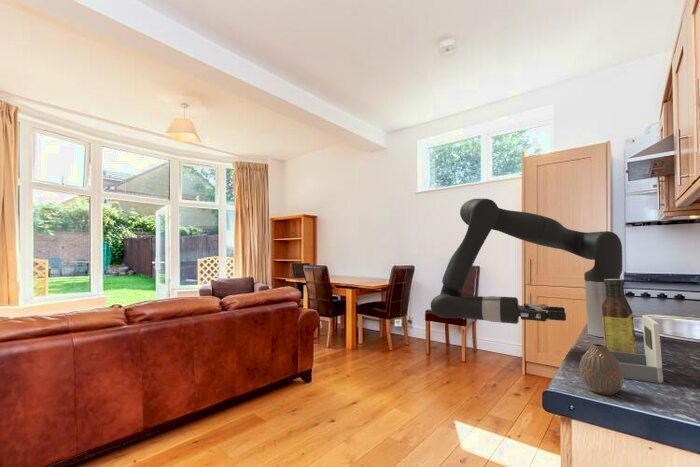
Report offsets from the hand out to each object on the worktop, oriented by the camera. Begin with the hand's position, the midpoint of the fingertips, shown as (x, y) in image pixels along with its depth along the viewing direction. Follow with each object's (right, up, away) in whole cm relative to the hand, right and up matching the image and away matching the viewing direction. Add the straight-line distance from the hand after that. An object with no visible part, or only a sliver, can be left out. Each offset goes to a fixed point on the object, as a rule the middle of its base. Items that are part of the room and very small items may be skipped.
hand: (565, 313), depth 91 cm
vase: (-9, -9, -25) cm, 28 cm away
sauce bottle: (+10, -10, -6) cm, 15 cm away
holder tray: (+3, -9, -15) cm, 18 cm away
